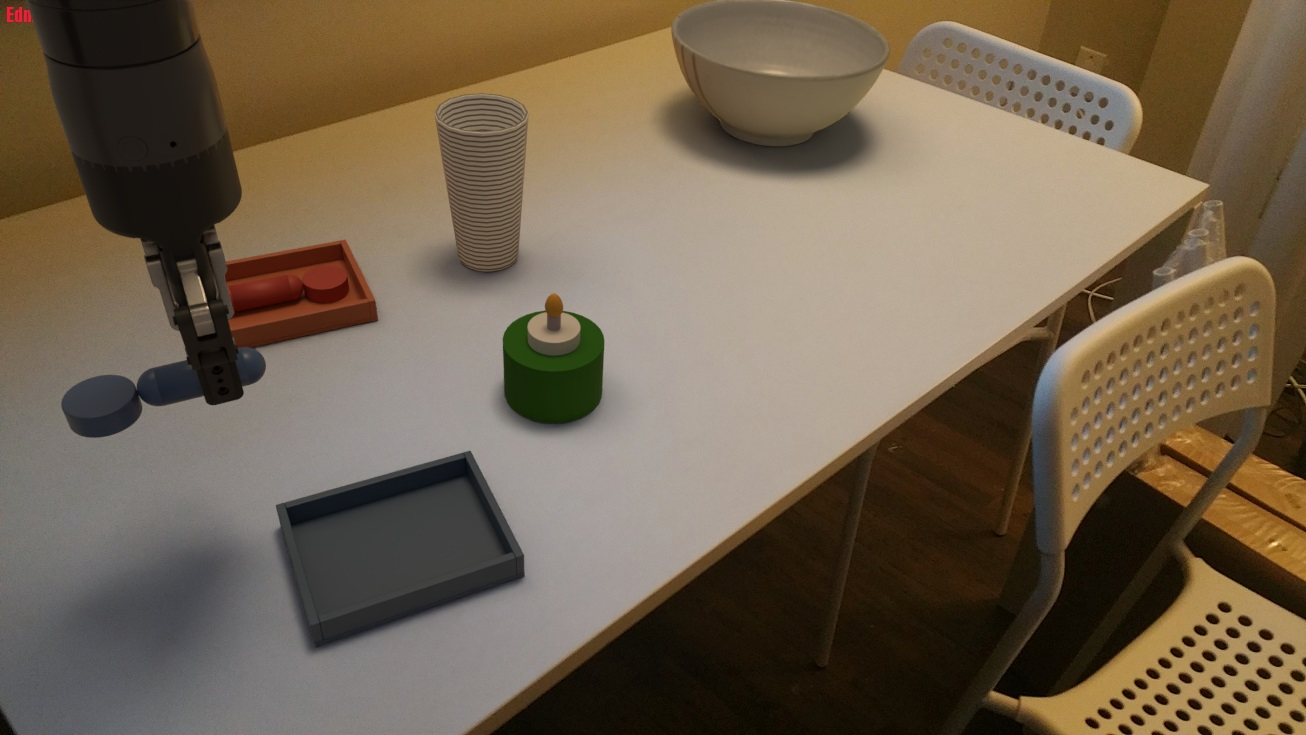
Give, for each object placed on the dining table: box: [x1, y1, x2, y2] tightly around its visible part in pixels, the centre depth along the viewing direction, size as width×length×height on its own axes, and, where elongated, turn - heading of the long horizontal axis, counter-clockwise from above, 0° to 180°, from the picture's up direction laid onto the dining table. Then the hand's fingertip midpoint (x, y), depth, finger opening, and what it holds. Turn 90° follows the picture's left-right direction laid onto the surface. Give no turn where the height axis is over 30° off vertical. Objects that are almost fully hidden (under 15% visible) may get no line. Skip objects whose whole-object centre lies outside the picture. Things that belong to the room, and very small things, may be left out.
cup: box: [433, 92, 530, 273], centre depth 95 cm, size 8×8×16 cm
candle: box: [502, 292, 605, 425], centre depth 81 cm, size 8×8×10 cm
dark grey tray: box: [275, 450, 526, 647], centre depth 69 cm, size 14×11×2 cm
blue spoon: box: [60, 347, 267, 439], centre depth 60 cm, size 11×4×2 cm, turn 117°
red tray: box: [218, 239, 379, 348], centre depth 90 cm, size 14×11×2 cm
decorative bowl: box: [670, 0, 891, 147], centre depth 124 cm, size 27×27×12 cm
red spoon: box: [218, 266, 349, 312], centre depth 90 cm, size 11×4×2 cm, turn 117°
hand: (221, 383), depth 62 cm, fingers closed on blue spoon, 2 cm apart
